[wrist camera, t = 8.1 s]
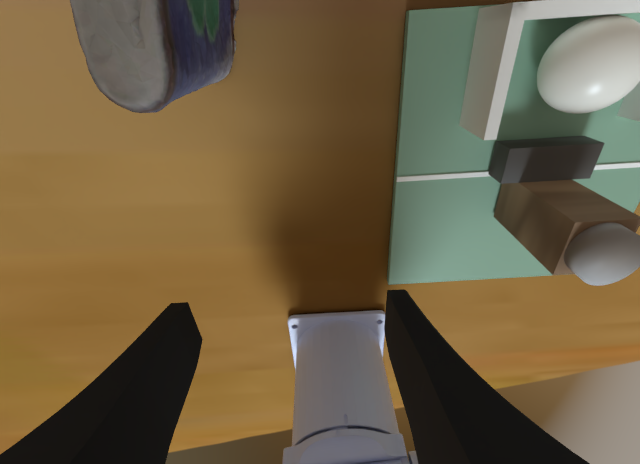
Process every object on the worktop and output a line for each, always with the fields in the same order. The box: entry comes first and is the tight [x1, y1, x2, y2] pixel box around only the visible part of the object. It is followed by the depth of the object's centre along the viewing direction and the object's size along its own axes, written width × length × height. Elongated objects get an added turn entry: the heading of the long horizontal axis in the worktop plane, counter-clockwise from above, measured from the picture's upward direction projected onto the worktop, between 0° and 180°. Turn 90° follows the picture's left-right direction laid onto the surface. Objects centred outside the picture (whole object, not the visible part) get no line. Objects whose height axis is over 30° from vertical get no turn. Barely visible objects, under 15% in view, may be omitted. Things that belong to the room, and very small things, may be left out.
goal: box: [459, 0, 640, 140], centre depth 15 cm, size 5×9×3 cm, turn 93°
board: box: [387, 4, 640, 285], centre depth 20 cm, size 17×16×1 cm
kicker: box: [488, 136, 640, 285], centre depth 16 cm, size 5×5×7 cm
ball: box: [537, 15, 640, 114], centre depth 15 cm, size 4×4×4 cm
